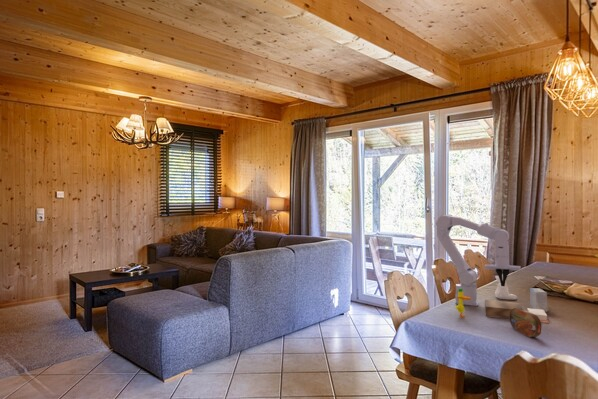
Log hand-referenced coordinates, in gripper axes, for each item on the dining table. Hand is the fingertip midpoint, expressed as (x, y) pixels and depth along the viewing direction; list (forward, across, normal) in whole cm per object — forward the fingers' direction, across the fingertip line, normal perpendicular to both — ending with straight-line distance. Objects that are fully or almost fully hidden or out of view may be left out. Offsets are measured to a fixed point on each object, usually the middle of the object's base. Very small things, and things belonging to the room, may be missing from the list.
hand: (502, 285), depth 177 cm
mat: (+11, +11, -9) cm, 18 cm away
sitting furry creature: (+11, +1, +20) cm, 23 cm away
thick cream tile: (+8, +12, -9) cm, 17 cm away
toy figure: (+10, -17, -20) cm, 28 cm away
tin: (+11, +5, -32) cm, 34 cm away
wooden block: (+10, -1, -9) cm, 14 cm away
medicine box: (+11, +14, +5) cm, 19 cm away
